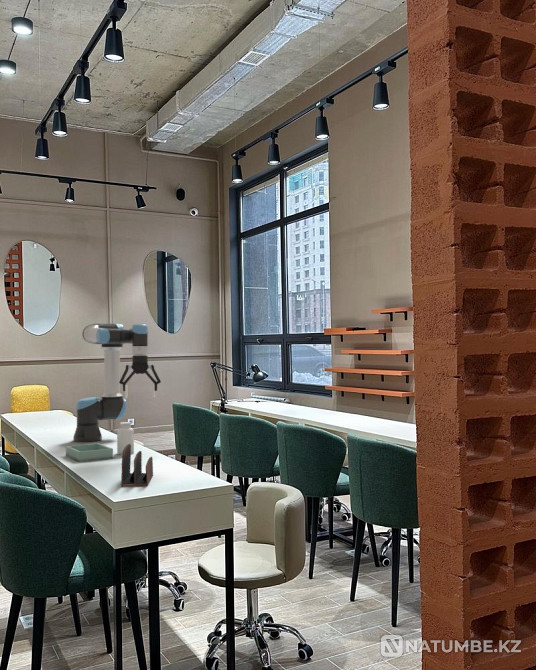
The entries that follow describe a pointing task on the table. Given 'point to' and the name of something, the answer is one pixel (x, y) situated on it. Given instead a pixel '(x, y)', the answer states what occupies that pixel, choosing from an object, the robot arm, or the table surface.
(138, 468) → the letter holder
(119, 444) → the pill bottle
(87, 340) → the robot arm
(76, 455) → the box
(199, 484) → the table surface
